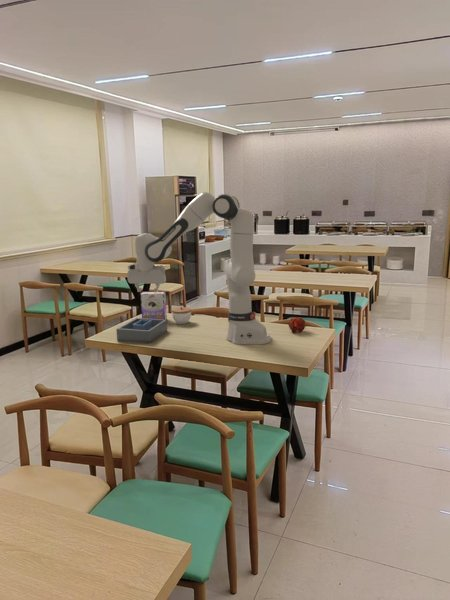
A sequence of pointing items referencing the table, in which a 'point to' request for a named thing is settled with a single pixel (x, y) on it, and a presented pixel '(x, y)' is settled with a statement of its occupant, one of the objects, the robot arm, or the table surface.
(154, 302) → the candy box
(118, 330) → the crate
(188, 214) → the robot arm
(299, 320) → the dragon fruit
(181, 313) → the lidded jar
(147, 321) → the tote
